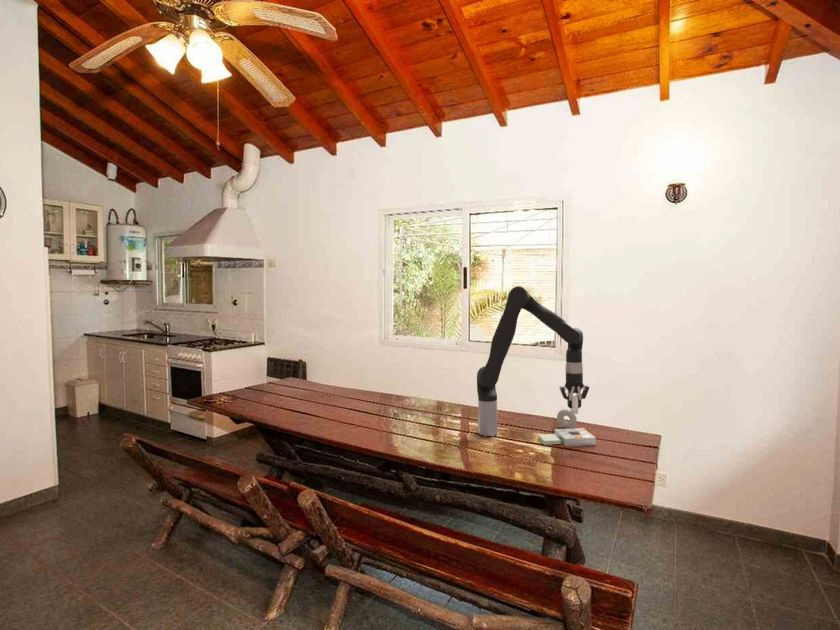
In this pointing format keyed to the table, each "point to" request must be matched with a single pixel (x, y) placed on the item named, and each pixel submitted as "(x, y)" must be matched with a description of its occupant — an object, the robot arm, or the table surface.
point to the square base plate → (549, 439)
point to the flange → (575, 437)
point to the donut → (562, 422)
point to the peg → (574, 404)
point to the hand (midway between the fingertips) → (574, 407)
